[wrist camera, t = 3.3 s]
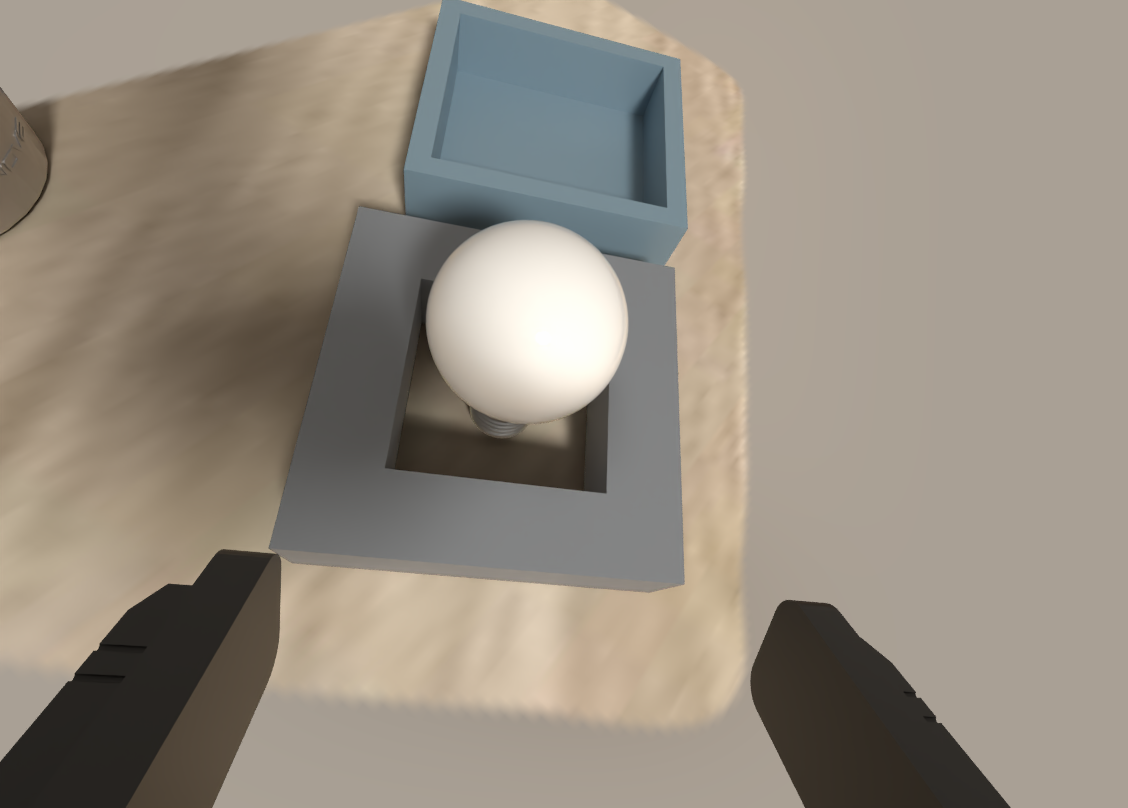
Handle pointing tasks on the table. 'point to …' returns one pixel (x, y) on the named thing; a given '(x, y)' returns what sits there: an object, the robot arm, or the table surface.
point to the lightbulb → (526, 324)
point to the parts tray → (549, 133)
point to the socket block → (466, 505)
